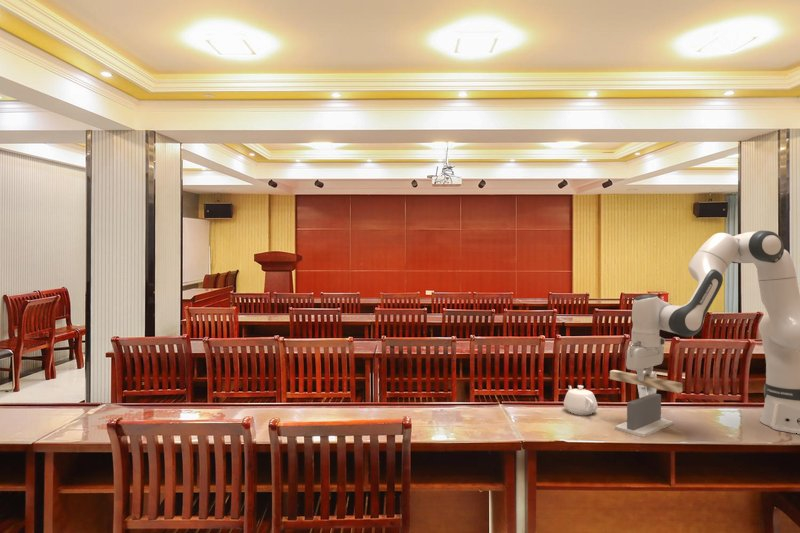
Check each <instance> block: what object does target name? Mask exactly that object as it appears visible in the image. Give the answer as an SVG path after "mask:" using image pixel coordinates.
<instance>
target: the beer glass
mask: <svg viewBox="0 0 800 533" xmlns="http://www.w3.org/2000/svg"><path fill="white" fill-rule="evenodd" d="M645 371H646V369H644V371H643V373H644V374H645ZM657 375H658V374H657V372H656V371H654V370H652V373H651V377H654V378H658V376H657ZM636 385H637V384H636ZM637 390H638V397H639V398H642V397H645V396H647V395H650V394H653V393H656V394H657V390H658V389H656V388H651V387H646V386H641V385H637ZM639 398H638V399H639Z"/></svg>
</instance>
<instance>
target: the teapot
mask: <svg viewBox="0 0 800 533" xmlns="http://www.w3.org/2000/svg"><path fill="white" fill-rule="evenodd" d="M583 388H584V385H581V384H580V385H579V384H578V385H577V388H572V385H568V390H567V392H566V394H565V397H564V398H563V399H564V400H563V406H564V408H565V409H566V410H567V411H568V413H570V412H571V414H573V413H574V415H577V414H578V415H577V416H590V415H589V414H591V415H593V414H594V413H595V412H596V411H597V410H598V406H599V405H598V402H597V399H596V397H595V394H594V393H593V392H592V391H591V390H588V389H583ZM592 413H593V414H592Z"/></svg>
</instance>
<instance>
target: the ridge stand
mask: <svg viewBox="0 0 800 533" xmlns="http://www.w3.org/2000/svg"><path fill="white" fill-rule="evenodd" d="M626 403H627V404H626V421H625V422H622V423H619V424H617V425H614V430H616V431H620V432H624V433H627V434H631V435H634V436H638V437H641V438H645V437H648V436H649V435H652V434H654V433H657V432H658V431H661V430H663V429H665V428H668V427H670V426H672V425H674V421H673V420H669V419H665V418H662V394H660V393H657V392H656V393H653V394H650V395H647V396H645V397H642V398H636V399H634V400H630V401H628V402H626Z"/></svg>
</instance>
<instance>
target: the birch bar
mask: <svg viewBox="0 0 800 533" xmlns="http://www.w3.org/2000/svg"><path fill="white" fill-rule="evenodd" d="M609 379H610V380H613V381H618V382H623V383H628V384H633V385H641V386H646V387H651V388H656V389H657V390H662V391H666V392H672V393H676V394H681V393H682V392H683V382H682V381H681V382H680V381H679V382H678V381H675V380H674V381H673V380H669V379H666V378H665V379H664V378H661V377H660V378H659V377H657V378H654V377H649V376H645V380H644V381H639V380H638V374H637V373H632V372H626V371H623V370H617V369H612V370H610V371H609Z"/></svg>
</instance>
